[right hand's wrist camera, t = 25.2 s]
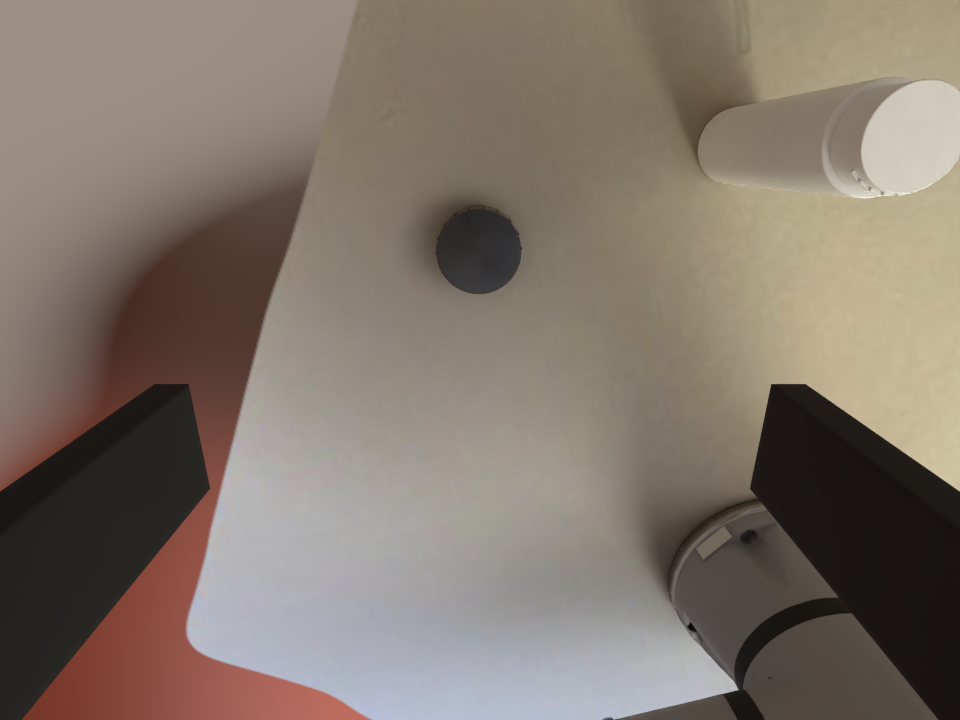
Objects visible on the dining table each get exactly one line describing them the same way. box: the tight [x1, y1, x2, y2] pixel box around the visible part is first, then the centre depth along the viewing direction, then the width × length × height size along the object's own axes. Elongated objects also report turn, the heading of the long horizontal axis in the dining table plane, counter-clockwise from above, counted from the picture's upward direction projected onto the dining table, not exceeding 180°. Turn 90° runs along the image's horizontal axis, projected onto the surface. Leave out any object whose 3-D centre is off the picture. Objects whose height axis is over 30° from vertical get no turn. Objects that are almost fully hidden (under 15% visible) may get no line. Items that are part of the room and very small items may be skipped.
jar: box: [698, 77, 960, 199], centre depth 27 cm, size 4×4×15 cm
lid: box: [436, 205, 522, 294], centre depth 35 cm, size 6×6×2 cm
